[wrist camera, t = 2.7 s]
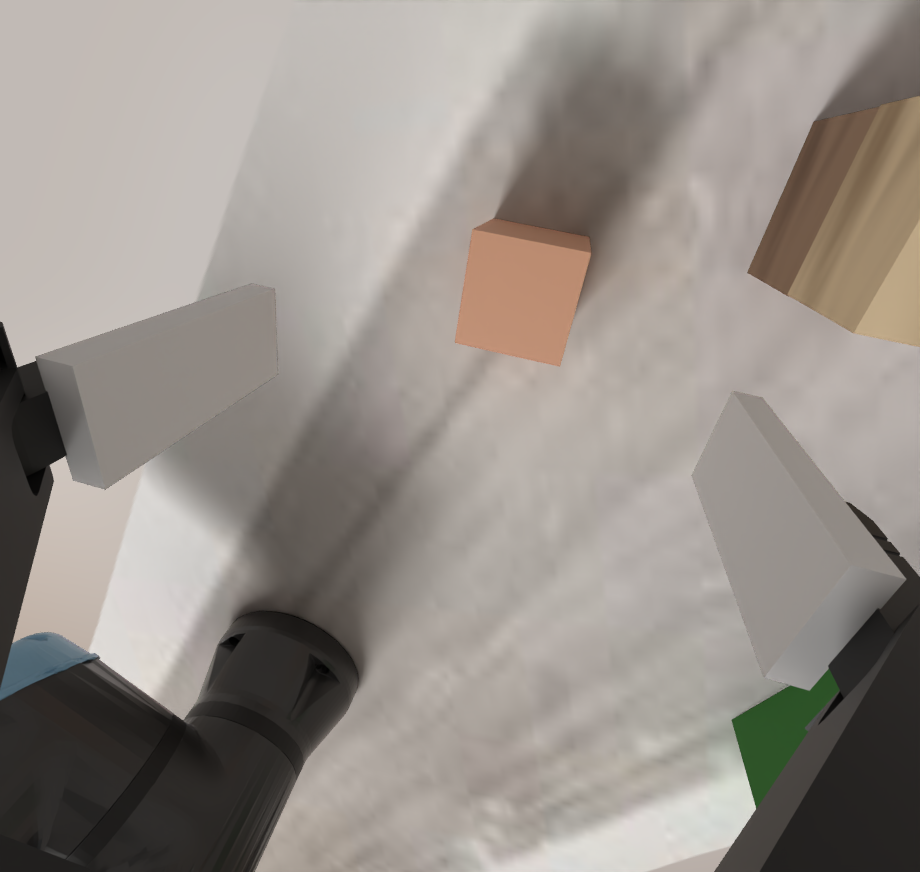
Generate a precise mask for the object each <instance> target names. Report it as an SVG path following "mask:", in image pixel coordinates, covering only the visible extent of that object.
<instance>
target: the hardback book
mask: <svg viewBox="0 0 920 872" xmlns="http://www.w3.org/2000/svg"><path fill="white" fill-rule="evenodd" d="M838 691H839V688H838V686H837V684H836V682H835V680H834V678H833V676H832V674H831V672H830V670H829V669H828V670H827V671H826V672H825V673H824V675H823V676H822V677H821V678H820V679H819V680H818V681H817V683H816V684H815V685H814V686H813V687H812V688H811V690H810V691H809V690H805V689H802V688H798V687H795V686H791V685H790V686H789V687H787V688H785V689H784V690H782V691H780V692H778V693H777V694H775V695H773V696H772V697H770V698H768V699H767V700H765V701H763V702H761V703H760V704H758V705H756V706H755V707H753V708H751V709H749V710H748V711H746V712H744V713H743V714H741V715H739V716H738V717H736V718H734V719H732V723H733V727H734V730H735V734H736V737H737V741H738V745H739V748H740V752H741V755H742V759H743V762H744V766H745V770H746V773H747V777H748V780H749V784H750V787H751V791H752V795H753V798H754V802H755V805H756V809H757V807H758V806H759V804H760V803H761V801H762V800H763V798H764V797H765V796H766V794H767V793H768V791H769V790H770V788H771V787H772V785H773V784H774V782H775V781H776V779H777V778H778V776H779V775H780V773H781V772H782V770H783V769H784V767H785V766H786V764H787V763H788V761H789V760H790V758H791V757H792V755H793V754H794V752H795V751H796V749H797V748H798V746H799V745H800V743H801V742H802V740H803V739H804V737H805V736H806V734H807V733H808V731H807V730H806V729H805V727H806V726H807V725H808V724H809V723H810V722H811V720H812V719H813V718H814V717H815V716H816V715H817V714H818V713H819V712H820V711H821V710H822V709H823V707H824V706H825V705H826V704H827V703H828V702H829V701H830V700H831V699H832V698H833V697H834V696H835V694H836V693H837V692H838Z"/></svg>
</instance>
